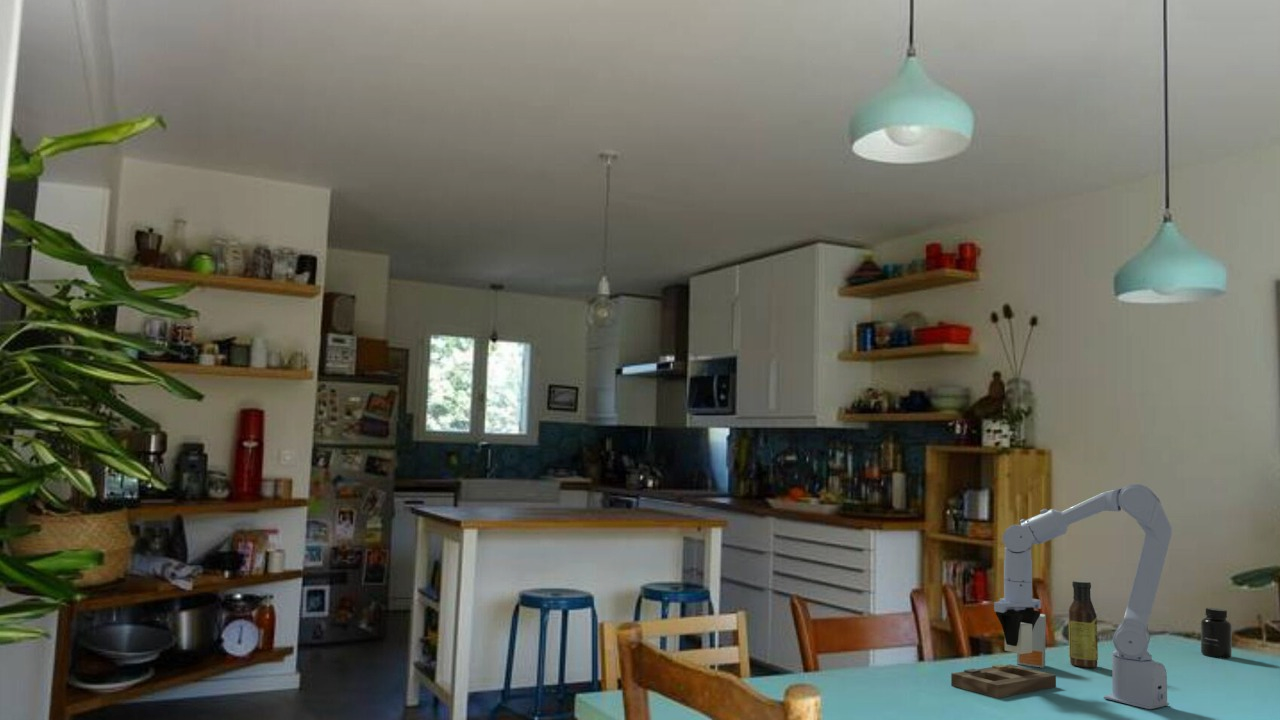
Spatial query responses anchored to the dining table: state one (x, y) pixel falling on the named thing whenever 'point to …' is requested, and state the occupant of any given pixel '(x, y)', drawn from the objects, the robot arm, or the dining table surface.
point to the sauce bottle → (1082, 627)
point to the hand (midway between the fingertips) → (1017, 644)
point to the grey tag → (972, 671)
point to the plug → (1022, 640)
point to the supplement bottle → (1216, 634)
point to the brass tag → (1000, 666)
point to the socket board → (1004, 681)
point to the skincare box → (1036, 646)
